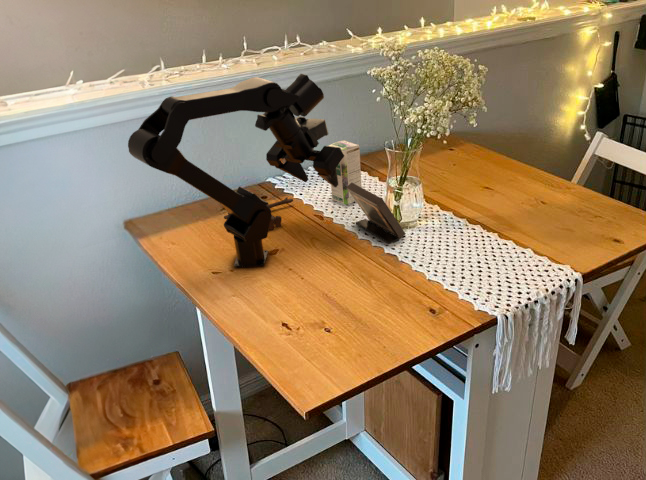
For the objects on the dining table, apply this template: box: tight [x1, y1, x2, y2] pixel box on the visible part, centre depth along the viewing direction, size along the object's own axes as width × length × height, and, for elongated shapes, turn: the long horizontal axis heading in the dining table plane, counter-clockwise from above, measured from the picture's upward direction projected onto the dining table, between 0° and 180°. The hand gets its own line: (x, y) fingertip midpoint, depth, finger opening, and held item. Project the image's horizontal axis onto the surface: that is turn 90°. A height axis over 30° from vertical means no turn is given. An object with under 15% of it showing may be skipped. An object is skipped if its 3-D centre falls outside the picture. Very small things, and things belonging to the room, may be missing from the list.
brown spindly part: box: [223, 197, 294, 231], centre depth 163 cm, size 18×4×14 cm
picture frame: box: [346, 182, 406, 240], centre depth 153 cm, size 2×12×12 cm
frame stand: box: [355, 218, 400, 245], centre depth 155 cm, size 3×13×1 cm, turn 37°
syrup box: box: [328, 140, 363, 206], centre depth 168 cm, size 6×6×14 cm
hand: (321, 183), depth 152 cm, fingers open, 9 cm apart
